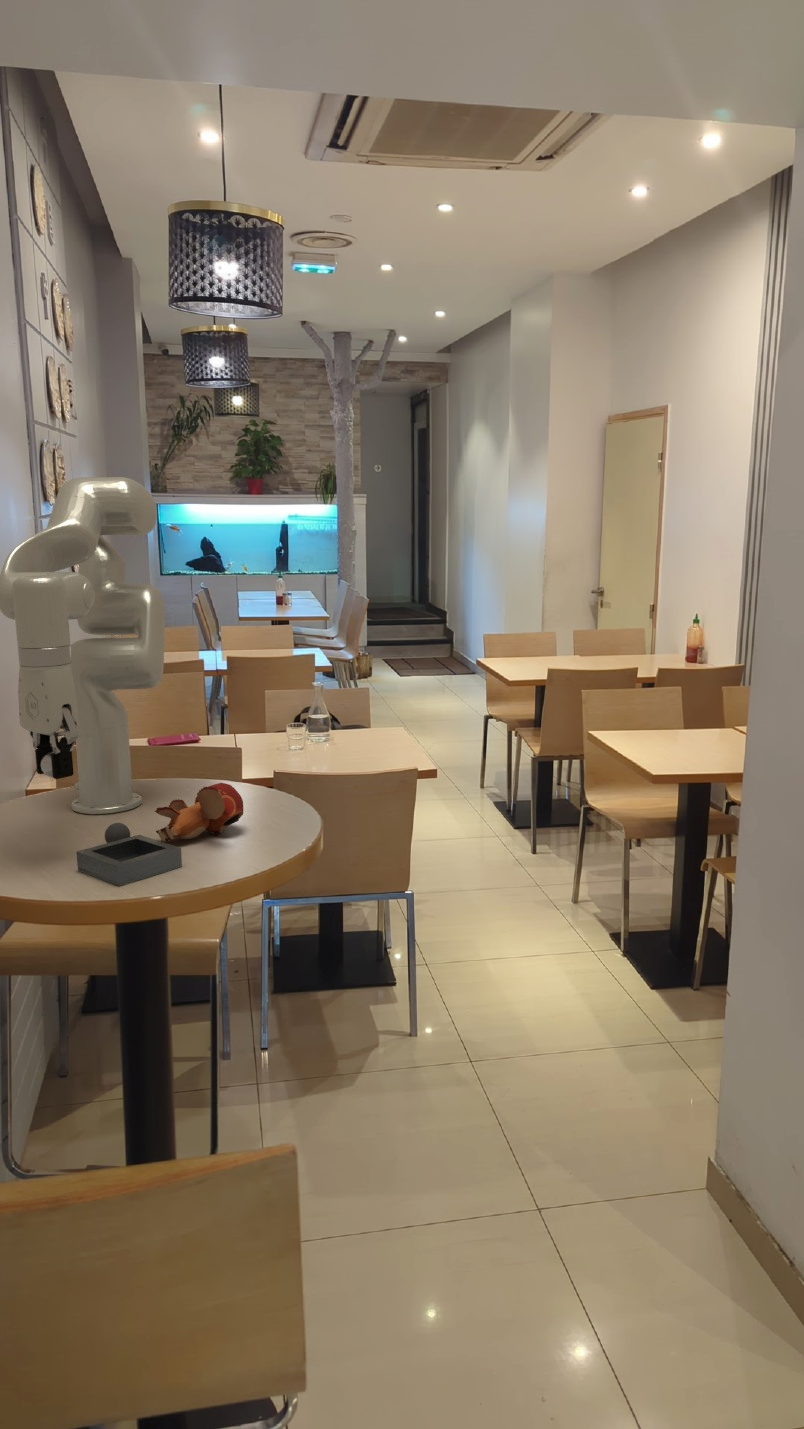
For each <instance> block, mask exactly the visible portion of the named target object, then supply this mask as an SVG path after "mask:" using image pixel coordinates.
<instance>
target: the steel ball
mask: <svg viewBox="0 0 804 1429" xmlns="http://www.w3.org/2000/svg"><path fill="white" fill-rule="evenodd" d="M52 753H54V752H50V753H47V754H46V755H45V756H44V757H43V758H42V760H41V769H42V771H43V773H44V774H43V775H46V776H47V777H49V778H53V773H52V762H51V754H52Z"/></svg>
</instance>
